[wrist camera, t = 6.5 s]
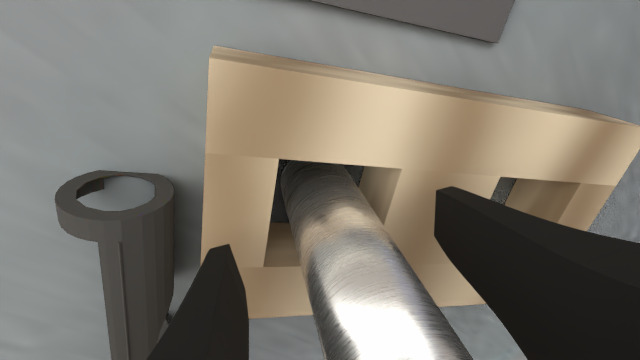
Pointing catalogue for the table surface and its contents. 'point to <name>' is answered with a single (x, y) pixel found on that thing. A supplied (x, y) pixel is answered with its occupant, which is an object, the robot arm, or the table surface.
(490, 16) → the mat
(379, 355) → the peg
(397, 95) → the hole block
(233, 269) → the robot arm
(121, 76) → the table surface
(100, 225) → the caulking gun
